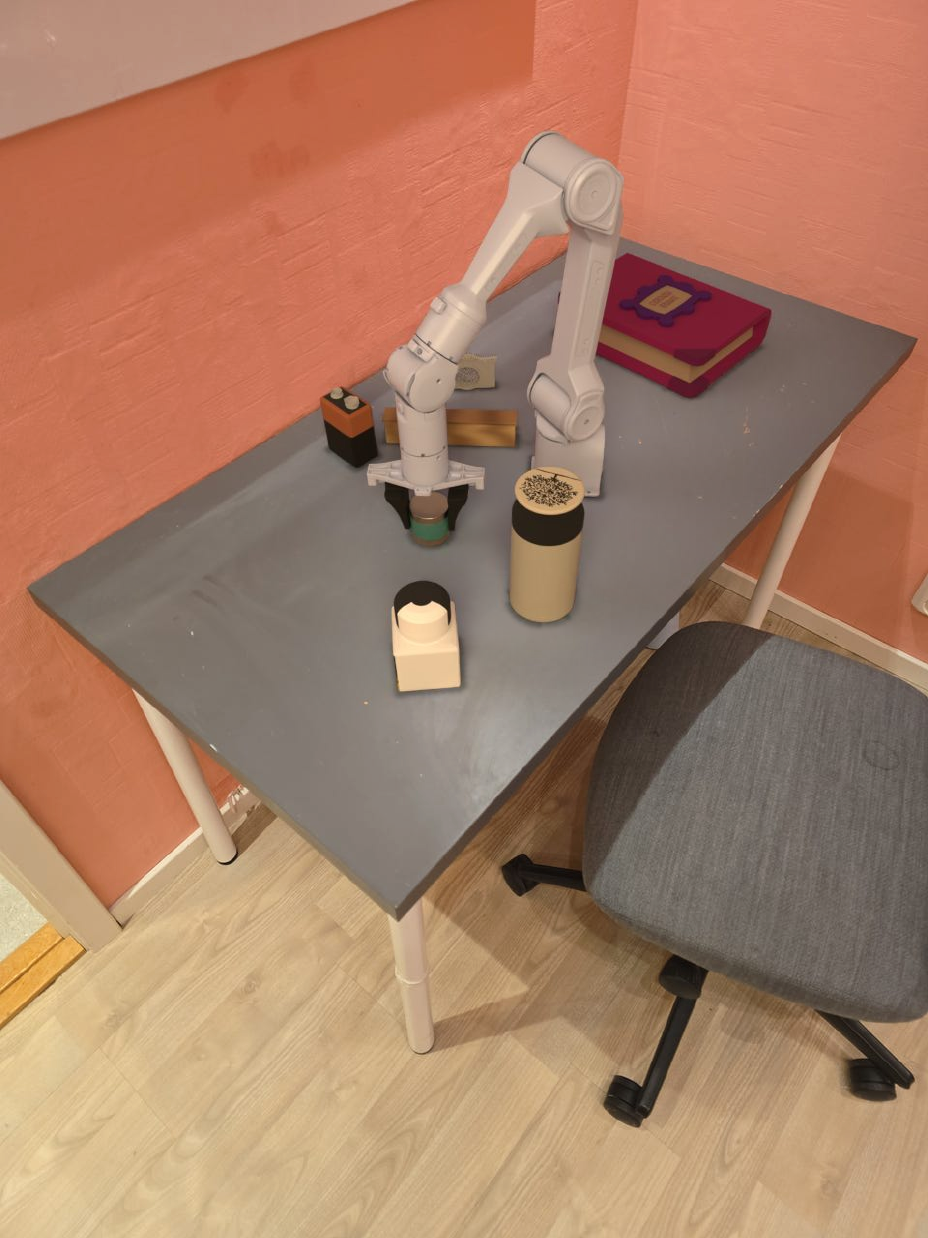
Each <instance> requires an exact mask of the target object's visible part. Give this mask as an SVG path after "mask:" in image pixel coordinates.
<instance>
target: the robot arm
mask: <svg viewBox="0 0 928 1238" xmlns="http://www.w3.org/2000/svg"><path fill="white" fill-rule="evenodd" d="M508 178H509V180H508V186H507V194H506V198H505V200H504V202H503V204H502V205H501V207H500V209H499V211H498V213H497V215H496V217H495V219H494V220H493V221H492V223H491V226H490V228H489V229H488V231H487V233H486V235H485V237H484V239H482V242H481V244H480V246H479V248H478V249H477V251H476V253H475V255H474V257H473V259H472V260H471V262H470V264H469V266H468V268H467V269H466V272H465V273H464V274H463V276H462V278H461V280H460V281H458V282H455V283H453V284H449V285H446V286H444V287H443V288H442V290H441V291H440V293H439V294H438V296H434V298H433V300H432V302H431V303H430V305H429V307H430V308H429V311H428V312H427V314H426V315H425V317H424V318H423V319H422V321H421V323H420V325H419V326H418V327H417V329H416V330H415V332H414V334H413V335H412V337H411V338H410V339H409V341H408V342H407V343H404V344H402V345H400V346H398V347H397V348H395V349H394V350H393V351H392V353H391V354H390V356H389V358H388V360H387V364H386V368H385V369H383V371H382V375H383V379H384V380H385V382H386V383H387V384H388V385H389V386H390V387H391V388H393V390H394V399H395V400H394V401H395V407H396V410H397V421H398V431H399V441H400V443H399V448H400V449H399V450H400V458H401V459H397V460H392V461H386V462H382V463H369V464H368V467H367V471H366V477H367V484H368V486H369V487H375V486H378V483H379V484H382V483H383V484H384V493H383V494H384V495H383V496H384V499H385V501H386V503H387V504H389V505H390V506H391V507H392V508H393V509H394V510H395V512H396V513H397V515H398V517H399V518H400V520H401V522H402V524H403V527H404V529H405V530H411V526H410V516H409V502H410V500H411V499H410V490H413V492H414V496H415V495H416V496H430V495H431V494H432V492H435V491H438V490H443V489H448V490H447V491H448V492H447V496H446V498H447V503H448V509H449V531H450V532H454V531H455V530H456V522H457V519H458V516H459V514H460V513H461V510H462V509H463V507H464V506H465V505H466V503H467V501H468V497H469V489H470V487H474V488H475V490H485V485H486V468H485V467H482V466H480V467H479V466H474V465H470V464H466V463H462V462H459V461H454V460H452V459H449V445H448V441H447V422H446V409H447V407H446V405H447V404H446V403H447V402H448V400H449V399H450V398H451V397H452V396H453V394H454V391H455V390H456V389H455V377H457V376H456V374H457V372H459V370H458V368H459V366H458V363H459V362H460V360H461V359H462V357H463V356H464V354H466V353H467V351H468V350H469V348H470V347H471V345H472V344H473V343H474V341H475V340H476V338H477V336H478V335H479V334H480V332H481V331H482V329H483V327H484V325H486V323H487V321H488V318H489V315H488V300H489V299H490V298H491V296H492V295H493V294H494V293H495V291H496V289H498V287H499V286H500V285H501V283H502V282H503V280H504V279H505V278H506V277H507V275H508V274H509V273H510V271H511V270H512V269H513V267H514V266H515V265H516V264H517V263H518V261H519V260H520V258H521V257H522V256H523V255H524V253H525V252H526V251H527V249H528V248H529V247H530V245H531V244H532V243H533V242H534V240H536V239H540V238H547V237H553V236H562V235H566V234H568V233H569V237H568V244H567V251H566V256H565V263H564V269H563V275H562V281H561V288H560V292H561V293H560V299H559V304H557V313H556V318H555V323H554V331H553V337H552V343H551V349H550V353H549V354H547V355H546V356H543V357H542V358H540V359H538V360H537V361H536V367H535V371H534V373H533V376H532V378H531V379H530V381H529V384H528V385H527V389H526V400H527V403H528V405H529V406H531V408H533V409H534V418H535V419H536V424H535V441H534V442H535V444H534V445H535V446H534V455H532V456H531V464H530V466H531V467H530V470H532V469H535V468H539V467H558V468H562V469H565V470H568V471H570V472H572V473H573V474H575V475H576V476H577V477H578V478H579V479H580V480H581V481H582V483H583V485H584V489H585V494H584V497H591V498H593V497H594V498H596V497H599V496H600V494H601V493H600V488H601V480H602V474H603V472H604V457H605V447H606V446H605V445H606V424H605V423H603V421H604V418H605V414H606V406H605V402H604V395H605V389H606V388H605V384H604V382H603V380H602V378H601V376H600V374H599V370H598V369H597V366H596V364H595V359H596V356H597V354H596V350H597V345H598V340H599V335H600V330H601V326H602V321H603V316H604V311H605V306H606V301H607V296H608V291H609V287H610V282H611V277H612V272H613V267H614V262H615V260H616V257H617V252H618V247H619V243H620V236H621V233H622V228H623V223H624V207H623V202H622V195H623V189H624V185H625V184H624V183H625V179H626V178H625V176H624V175H623V174H622V173H621V172H620V171H619V170H618V168H617V167H616V166H615V165H614V164H613V163H612V162H611V161H609V160H608V159H606V158H604V157H599V156H598V155H596V154H594V153H592V152H590V151H588V150H587V149H585V148H584V147H581V146H580V145H578V144H576V143H575V142H573V141H571V140H569V139H567V138H566V137H565V136H564V135H563V134H561V133H560V132H558V131H557V130H543V131H541V132H539V133H538V134H536V135H535V136H534V137H532V139H531V140H529V142H528V143H527V144H526V146H525V148H524V149H523V151H522V153H521V156H520V159H519V160H518V161H517V163H516V164H515V165H514V166H513V167H512V169H511V170H510V173H509V177H508Z"/></svg>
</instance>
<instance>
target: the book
mask: <svg viewBox="0 0 928 1238" xmlns="http://www.w3.org/2000/svg"><path fill="white" fill-rule="evenodd" d="M560 293H561V291H559V292H558V294H557V305H559V299H560ZM772 313H773V312H772V309H771V308H770V307H769V308H768V307H766V306H764V305H761V304H759V303H756V302H754V301H751V300H748V299H746V298H744V297H742V296H738V295H736V294H734V293H731V292H728V291H725V290H723V289H721V288H718V287H715V286H713V285H711V284H708V283H705V282H703V281H700V280H697V279H695V278H692V277H691V276H688V275H685V274H682V273H680V272H678V271H675V270H672V269H670V268H668V267H665V266H662V265H660V264H657V263H655V262H653V261H650V260H648V259H645V258H643V257H639V256H637V255H635V254H632V253H629V252H626V253H624V254H623V255H621V256H619V257H618V258H615V262H614V267H613V272H612V277H611V282H610V287H609V291H608V296H607V301H606V306H605V311H604V316H603V321H602V326H601V330H600V335H599V340H598V345H597V350H596V355H598V356H600V357H603V358H605V359H606V360H609V361H611V362H613V363H615V364H617V365H618V366H621V367H624V368H625V369H627V370H629V371H632V372H634V373H636V374H638V375H640V376H642V377H645V378H647V379H649V380H651V381H653V382H655V383H656V384H660V385H661V386H664V387H666V388H667V390H669V391H671V392H674V393H676V394H678V395H680V396H682V397H685V398H688V399H692V398H697V397H698V396H700V395H701V394H702V393H703V392H705V391H706V390H707V389H708V387H709V386H710V385H712V384H713V383H714V382H716V381H717V380H718V379H719V378H721V377H722V376H723V375H724V374H726V373H727V372H729V370H731V369H733V367H735V366H736V365H738V364H739V363H740V362H741V361H742V360H744V359H745V358H746V357H748V356H749V355H750V354H751V353H753V352H754V351H755V350H757V349H758V348H759V347H760V346H761V344H762V343H763V341H764V339H765V337H766V335H767V332H768V330H769V329H768V328H769V325H770V321H771V318H772Z"/></svg>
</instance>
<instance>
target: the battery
mask: <svg viewBox="0 0 928 1238" xmlns="http://www.w3.org/2000/svg"><path fill="white" fill-rule="evenodd" d="M319 404H320V409H321V415H322V420H323V425H324V426H323V427H324V430H325V431H324V432H325V436H326V441H327V447H328V449H329V450H330V451H331V452H332V453H334V454H335V455H337V456H338V457H339V458H341V459H342V460H343V461H345V462H346V463H348V464H349V465H350V466H352V467H353V468H355V469H359V468H360V467H362V466H363V465H365V464H367V463H368V462H371V461H372V460H374V459H375V458H377V457H378V454H379V453H378V445H377V438H376V437H377V436H376V429H375V424H374V416H373V408H372V404H370V402H367V401H366V400H365V399H363V398H362V397H360V396H358V395H357V394H356V393H354V392H353V391H351V390H350V389H348V388H346V387H345V386H342V385H341V386H339V387H333V388H332V389H330V391H329V392H328V393H326V394H324V395H322V396H321V397H320V398H319Z"/></svg>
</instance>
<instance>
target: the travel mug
mask: <svg viewBox="0 0 928 1238" xmlns="http://www.w3.org/2000/svg"><path fill="white" fill-rule="evenodd" d="M584 494H585V489H584V485H583V483H582V481H581V480H580V479H579V478H578V477H577V476H576V475H575V474H573V473H572V472H570V471H568V470H565V469H562V468H558V467H539V468H535V469H532V470H531V469H530V470H528V471H526V472H524V473H523V474H522V475H521V476H519V478H518V479H517V481H516V483H515V486H514V495H515V497H516V498H515V500H514V502H513V504H512V508H511V531H510V532H511V533H510V535H511V536H510V537H511V538H510V539H511V540H510V567H509V568H510V570H509V571H510V573H509V575H510V576H509V602H510V604H511V607H512V609H513V610H514V611H515V612H516V613H517V614H518V615H519V616H521V617H522V618H524V619H526V620H528V621H532V622H537V623H550V622H554V621H558V620H561V619H562V618H564V617H565V616H566V615H569V613H570V612H571V610H572V609H573V607H574V605H575V600H576V590H577V581H578V573H579V565H580V556H581V548H582V538H583V530H584V523H585V522H584V521H585V508H584V505H583V503H582V501H583V500H584V498H585V496H584Z"/></svg>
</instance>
